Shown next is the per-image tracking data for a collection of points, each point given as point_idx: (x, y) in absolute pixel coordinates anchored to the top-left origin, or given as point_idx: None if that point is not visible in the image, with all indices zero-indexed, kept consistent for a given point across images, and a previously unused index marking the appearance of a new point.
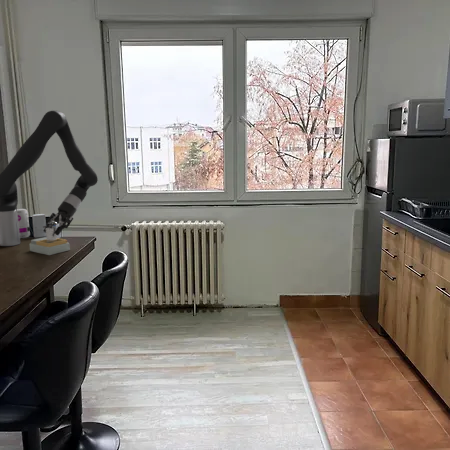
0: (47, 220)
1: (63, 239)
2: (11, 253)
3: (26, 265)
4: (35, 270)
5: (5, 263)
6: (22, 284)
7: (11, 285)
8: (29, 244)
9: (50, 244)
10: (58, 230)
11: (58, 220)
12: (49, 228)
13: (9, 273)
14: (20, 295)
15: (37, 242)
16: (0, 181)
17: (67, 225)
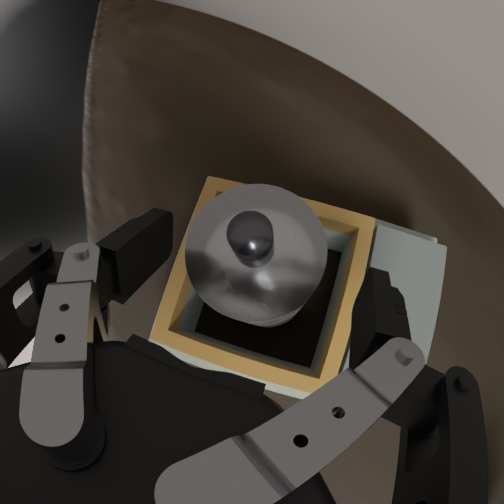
0: (468, 404)
1: (187, 345)
2: (451, 181)
3: (207, 64)
4: (142, 54)
5: (313, 60)
6: (123, 15)
7: (142, 5)
8: (433, 240)
9: (205, 194)
10: (120, 227)
11: (136, 357)
12: (243, 211)
13: (203, 20)
14: (103, 6)
15: (357, 216)
16: None
17: (31, 303)
